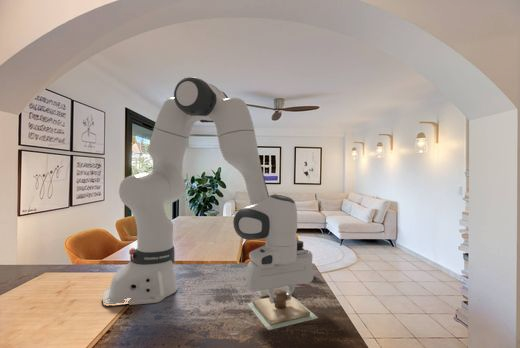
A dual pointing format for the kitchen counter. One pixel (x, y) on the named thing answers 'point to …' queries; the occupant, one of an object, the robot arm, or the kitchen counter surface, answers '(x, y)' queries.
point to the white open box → (265, 293)
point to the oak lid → (280, 308)
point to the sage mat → (283, 323)
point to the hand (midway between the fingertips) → (280, 301)
